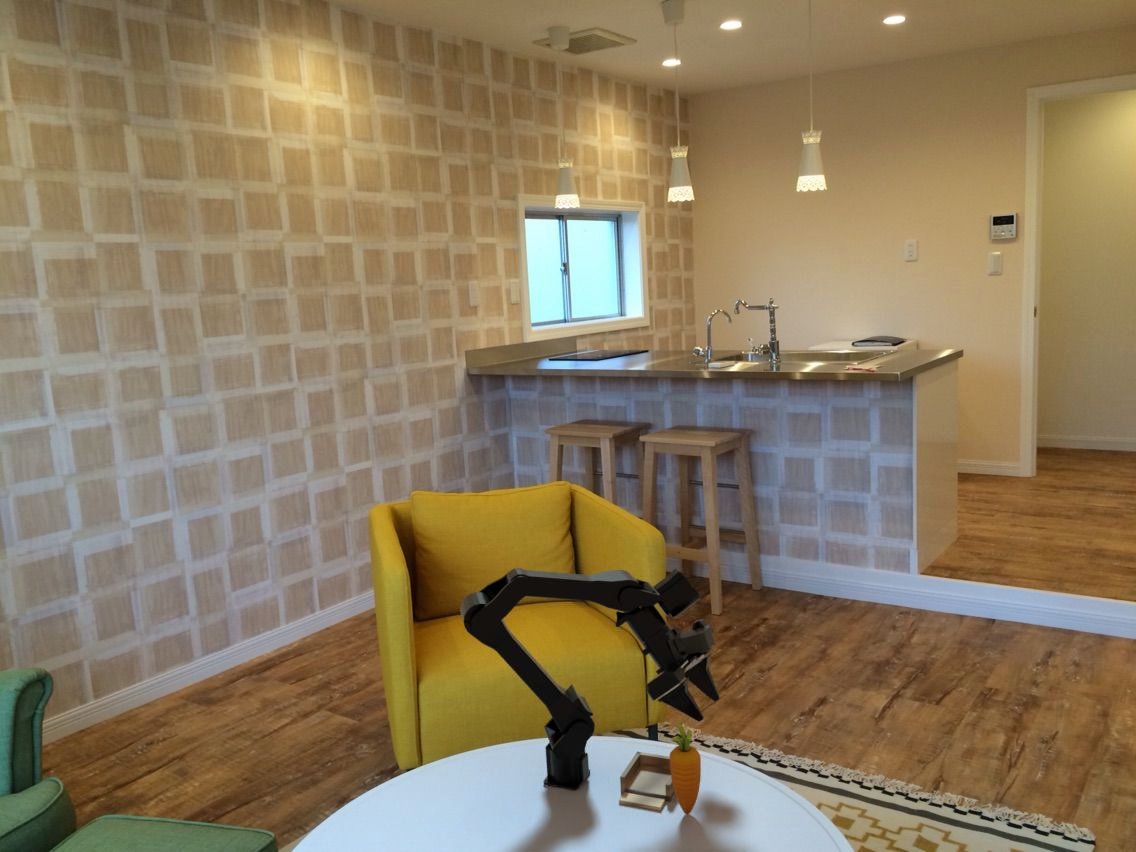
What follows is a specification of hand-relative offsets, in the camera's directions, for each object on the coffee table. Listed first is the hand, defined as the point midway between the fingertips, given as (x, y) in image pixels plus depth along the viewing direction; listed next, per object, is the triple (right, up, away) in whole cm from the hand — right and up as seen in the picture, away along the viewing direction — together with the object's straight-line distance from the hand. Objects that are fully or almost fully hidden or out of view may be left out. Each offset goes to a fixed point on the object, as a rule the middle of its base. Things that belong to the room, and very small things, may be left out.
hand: (709, 709), depth 158 cm
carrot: (-5, -15, -8) cm, 17 cm away
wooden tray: (-10, -13, 0) cm, 17 cm away
